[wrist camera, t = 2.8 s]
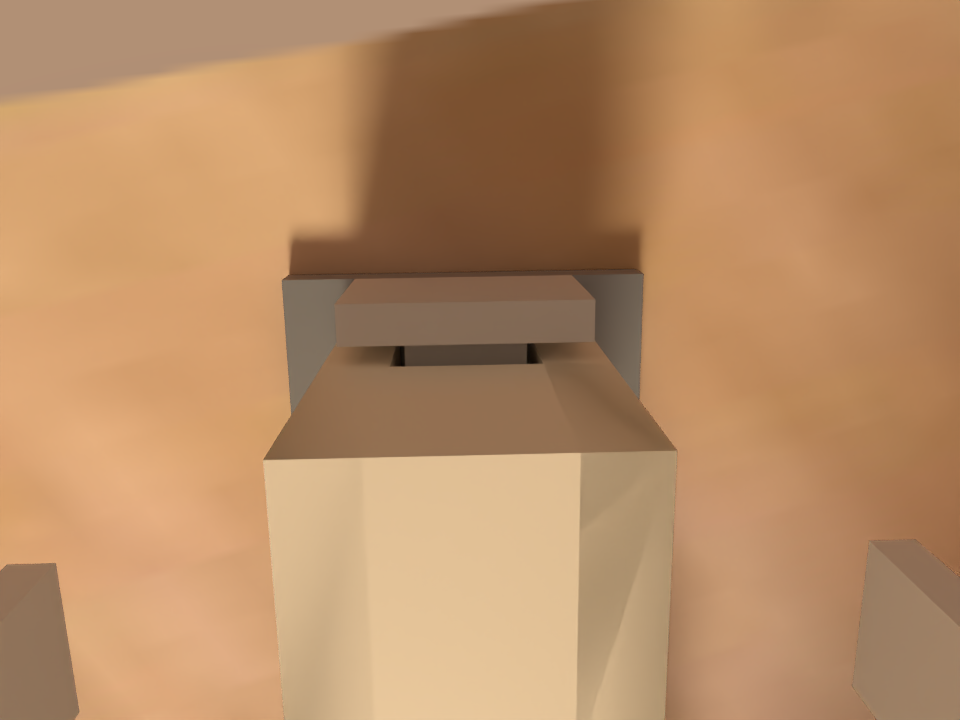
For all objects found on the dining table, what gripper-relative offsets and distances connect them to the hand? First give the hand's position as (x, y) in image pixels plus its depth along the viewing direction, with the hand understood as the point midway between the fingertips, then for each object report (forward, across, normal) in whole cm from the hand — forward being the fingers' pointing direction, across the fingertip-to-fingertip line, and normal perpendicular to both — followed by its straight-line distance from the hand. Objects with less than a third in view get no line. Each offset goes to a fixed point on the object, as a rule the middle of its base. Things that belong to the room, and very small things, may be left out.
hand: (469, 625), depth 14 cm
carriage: (+10, 0, 0) cm, 11 cm away
